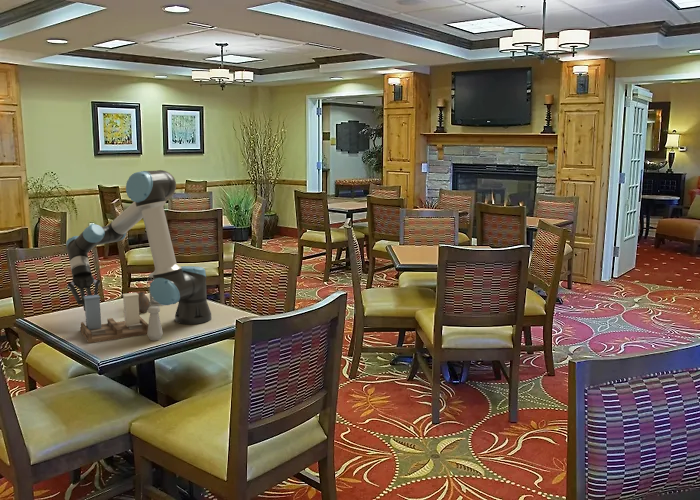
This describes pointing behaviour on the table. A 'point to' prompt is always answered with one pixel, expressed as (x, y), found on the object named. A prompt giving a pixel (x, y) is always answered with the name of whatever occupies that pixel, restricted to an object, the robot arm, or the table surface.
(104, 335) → the wooden divided tray
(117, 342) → the table surface
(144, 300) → the vase
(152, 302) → the french press
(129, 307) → the cream tall block
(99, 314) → the blue-grey rectangular block
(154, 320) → the salt shaker
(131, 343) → the table surface
